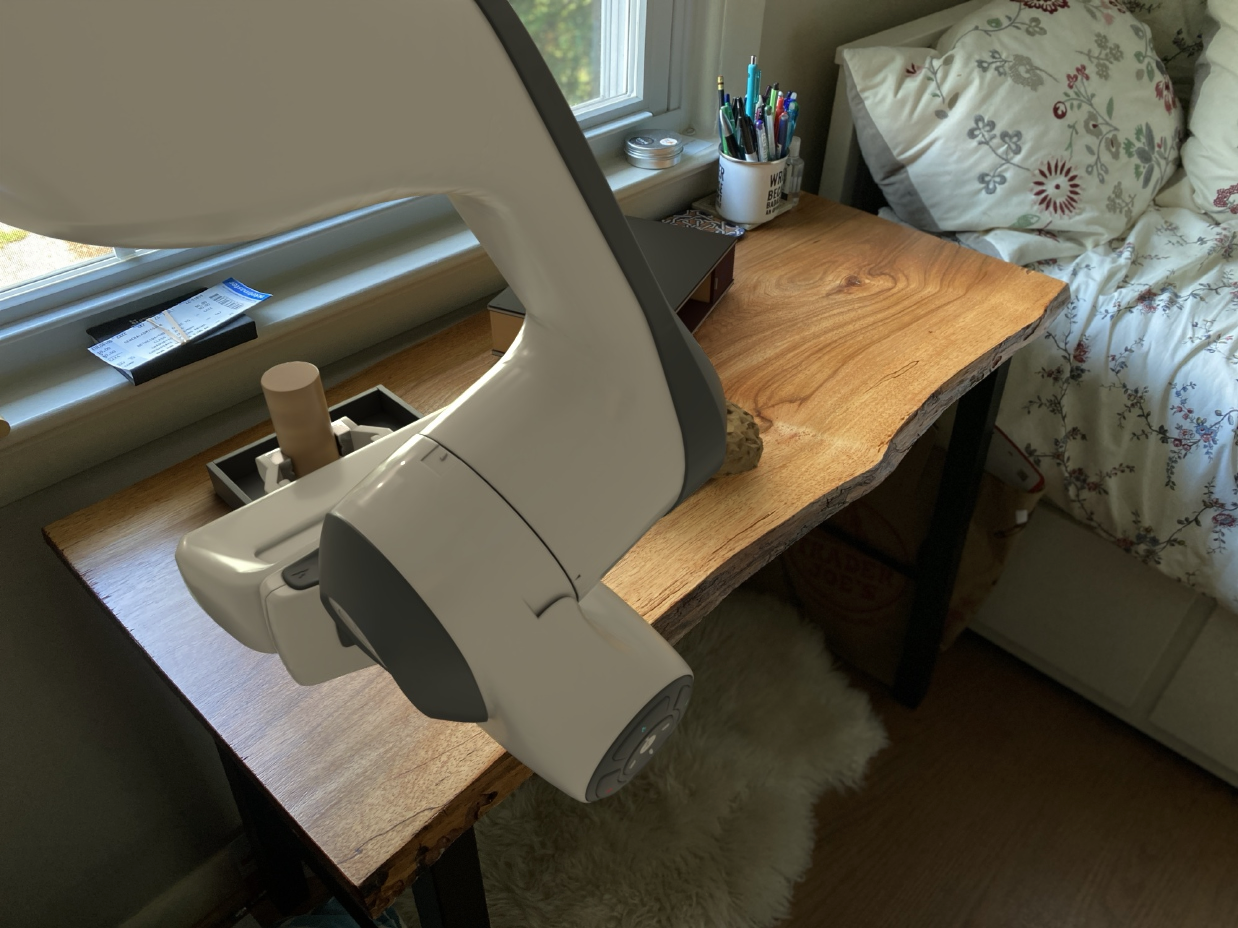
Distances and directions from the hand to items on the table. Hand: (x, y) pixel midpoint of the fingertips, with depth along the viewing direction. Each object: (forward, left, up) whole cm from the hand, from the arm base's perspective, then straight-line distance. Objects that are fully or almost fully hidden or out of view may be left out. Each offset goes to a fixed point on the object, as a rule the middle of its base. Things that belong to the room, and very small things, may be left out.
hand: (302, 446), depth 57 cm
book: (+45, +18, -17) cm, 51 cm away
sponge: (+31, 0, -17) cm, 35 cm away
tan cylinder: (0, -1, -6) cm, 7 cm away
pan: (+9, +15, -17) cm, 24 cm away
